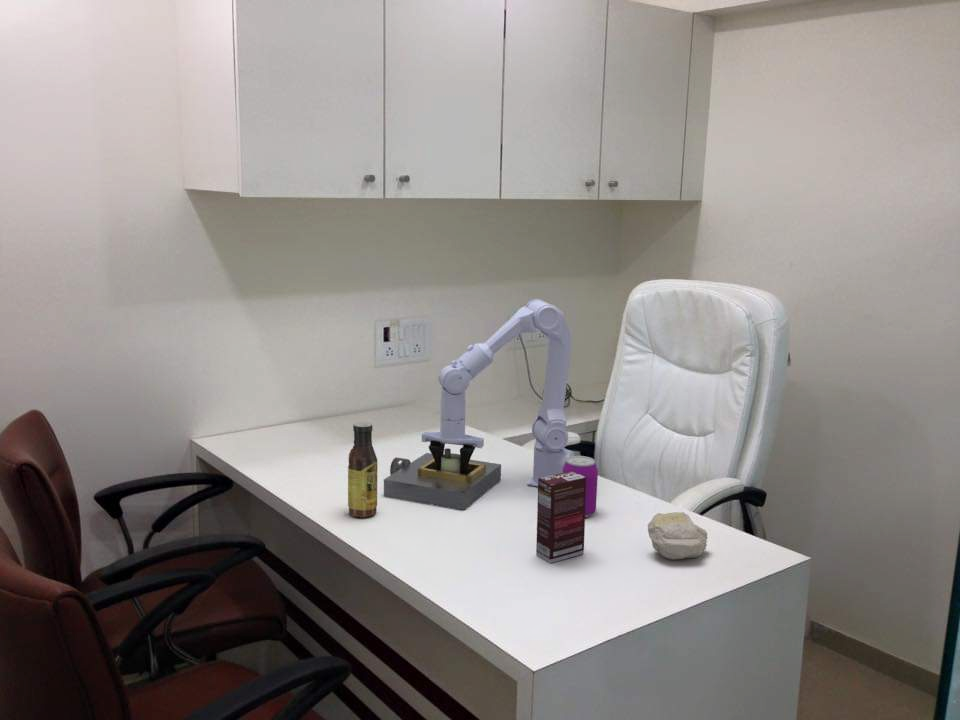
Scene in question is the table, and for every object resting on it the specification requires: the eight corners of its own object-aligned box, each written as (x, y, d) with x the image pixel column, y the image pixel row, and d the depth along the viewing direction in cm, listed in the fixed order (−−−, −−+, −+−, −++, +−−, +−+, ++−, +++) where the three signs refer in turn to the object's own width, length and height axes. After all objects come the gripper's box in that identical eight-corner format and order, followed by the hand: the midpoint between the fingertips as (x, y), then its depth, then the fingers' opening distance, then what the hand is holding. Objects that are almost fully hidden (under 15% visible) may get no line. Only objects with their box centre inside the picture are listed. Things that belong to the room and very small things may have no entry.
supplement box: (568, 545, 173) (572, 469, 170) (584, 554, 169) (588, 476, 166) (534, 555, 168) (536, 477, 165) (549, 564, 164) (552, 484, 161)
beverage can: (598, 508, 193) (600, 456, 191) (593, 521, 186) (595, 467, 183) (564, 504, 195) (566, 453, 193) (557, 516, 188) (560, 463, 185)
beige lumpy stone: (717, 557, 170) (675, 545, 177) (719, 515, 169) (677, 505, 176) (680, 569, 162) (638, 556, 169) (683, 525, 161) (639, 514, 168)
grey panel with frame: (500, 480, 210) (501, 458, 209) (464, 510, 190) (464, 486, 189) (415, 466, 219) (415, 445, 217) (372, 494, 199) (372, 471, 198)
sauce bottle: (371, 520, 183) (371, 429, 179) (343, 517, 185) (342, 427, 181) (381, 509, 190) (381, 421, 186) (354, 506, 191) (353, 419, 187)
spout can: (466, 482, 202) (467, 449, 200) (448, 486, 199) (449, 453, 197) (454, 476, 206) (454, 444, 204) (436, 480, 203) (436, 447, 201)
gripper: (487, 416, 201) (486, 472, 204) (429, 410, 205) (428, 465, 208) (479, 424, 195) (478, 481, 197) (418, 417, 199) (418, 474, 201)
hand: (451, 474), depth 202 cm, fingers closed on spout can, 5 cm apart
